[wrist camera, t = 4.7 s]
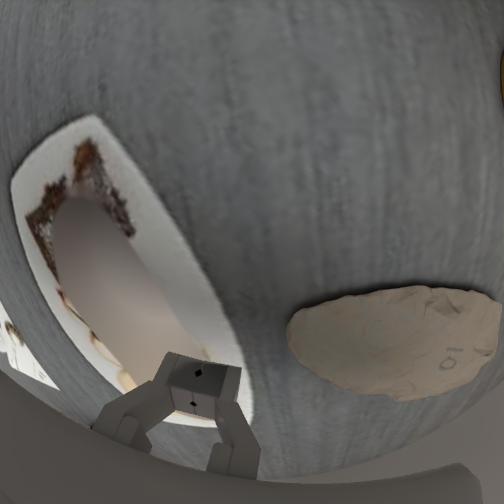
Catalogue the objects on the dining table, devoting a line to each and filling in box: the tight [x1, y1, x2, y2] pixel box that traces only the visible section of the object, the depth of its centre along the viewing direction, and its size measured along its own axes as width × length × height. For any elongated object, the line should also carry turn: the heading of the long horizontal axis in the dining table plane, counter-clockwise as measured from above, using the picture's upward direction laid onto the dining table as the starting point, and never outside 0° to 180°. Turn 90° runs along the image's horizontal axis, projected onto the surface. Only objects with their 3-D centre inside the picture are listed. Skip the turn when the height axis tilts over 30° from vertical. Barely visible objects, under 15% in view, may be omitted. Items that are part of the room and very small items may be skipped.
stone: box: [286, 285, 502, 402], centre depth 11 cm, size 8×14×2 cm, turn 80°
